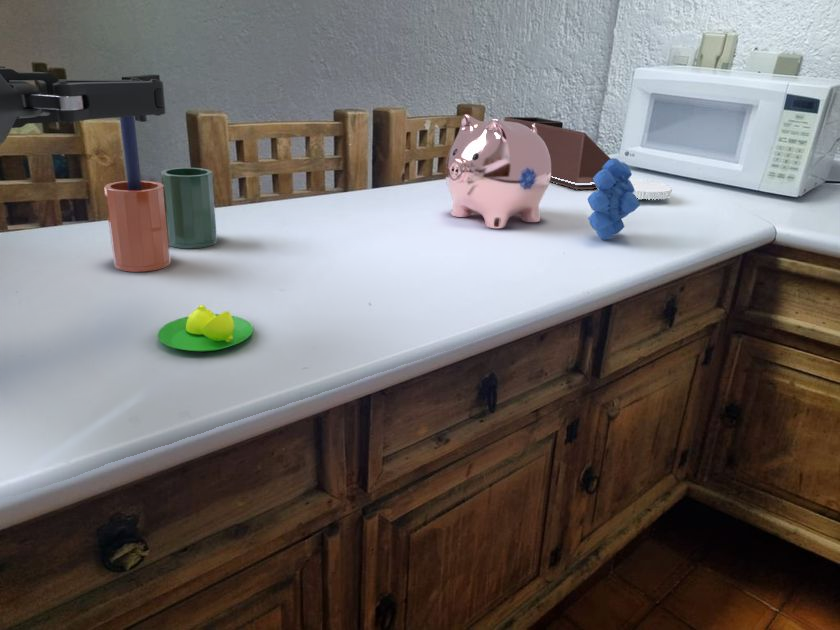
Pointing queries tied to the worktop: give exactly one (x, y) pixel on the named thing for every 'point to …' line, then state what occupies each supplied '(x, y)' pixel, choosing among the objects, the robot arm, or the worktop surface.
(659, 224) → the worktop surface
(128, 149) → the pencil
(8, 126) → the robot arm
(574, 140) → the desk organizer
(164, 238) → the terracotta cup
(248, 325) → the lemons on green plate
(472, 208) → the piggy bank
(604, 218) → the blue lumpy block
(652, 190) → the plastic lid
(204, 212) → the green cup
